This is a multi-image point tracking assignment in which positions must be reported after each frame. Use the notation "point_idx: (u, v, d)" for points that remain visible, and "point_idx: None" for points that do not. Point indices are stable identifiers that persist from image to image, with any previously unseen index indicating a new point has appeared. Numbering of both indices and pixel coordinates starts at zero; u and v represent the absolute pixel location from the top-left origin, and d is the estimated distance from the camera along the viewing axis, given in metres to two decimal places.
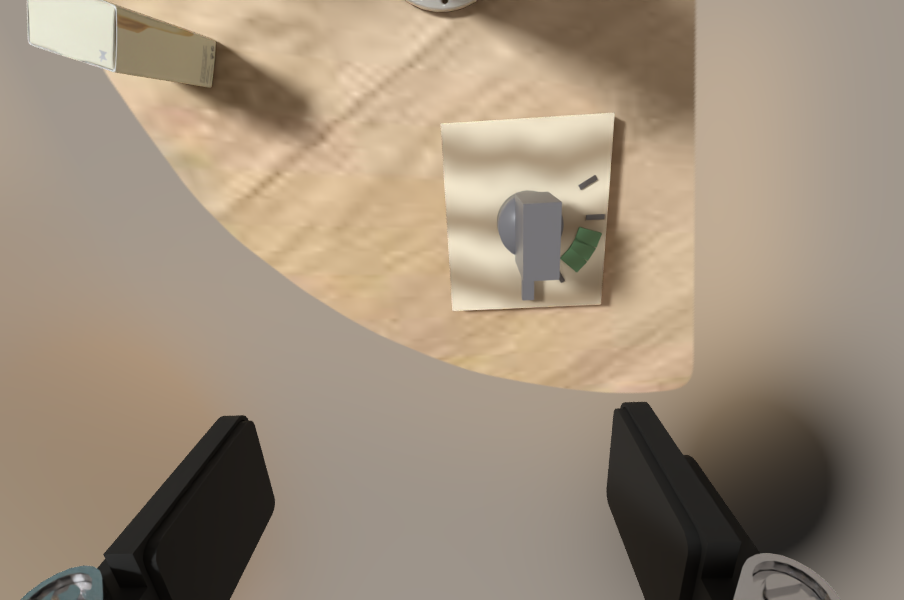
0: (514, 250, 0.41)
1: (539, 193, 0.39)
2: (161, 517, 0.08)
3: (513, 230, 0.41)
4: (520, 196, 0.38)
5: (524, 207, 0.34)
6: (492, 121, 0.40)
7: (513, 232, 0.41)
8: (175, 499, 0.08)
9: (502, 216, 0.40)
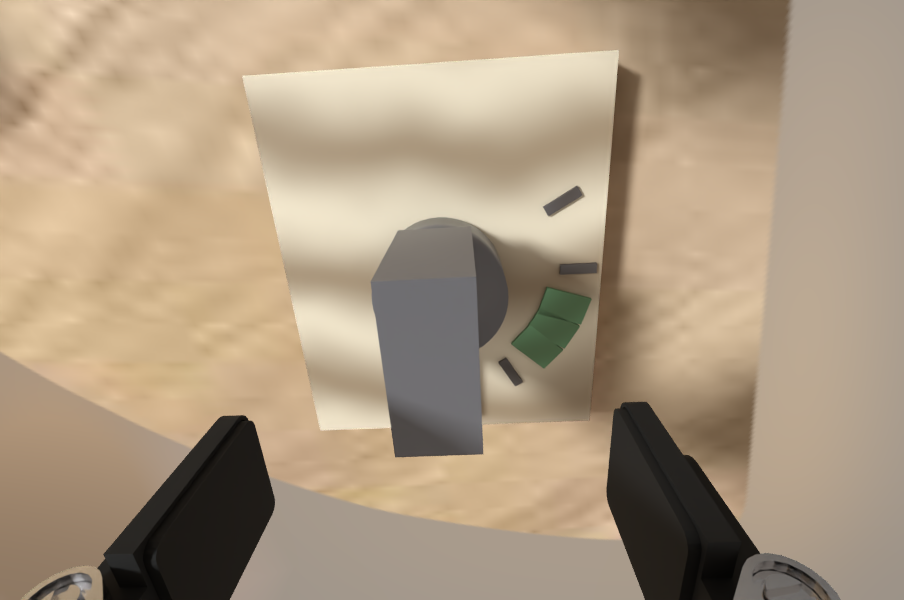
0: None
1: (448, 232, 0.17)
2: (161, 517, 0.08)
3: None
4: (398, 243, 0.16)
5: (375, 290, 0.12)
6: (353, 70, 0.19)
7: None
8: (175, 499, 0.08)
9: None
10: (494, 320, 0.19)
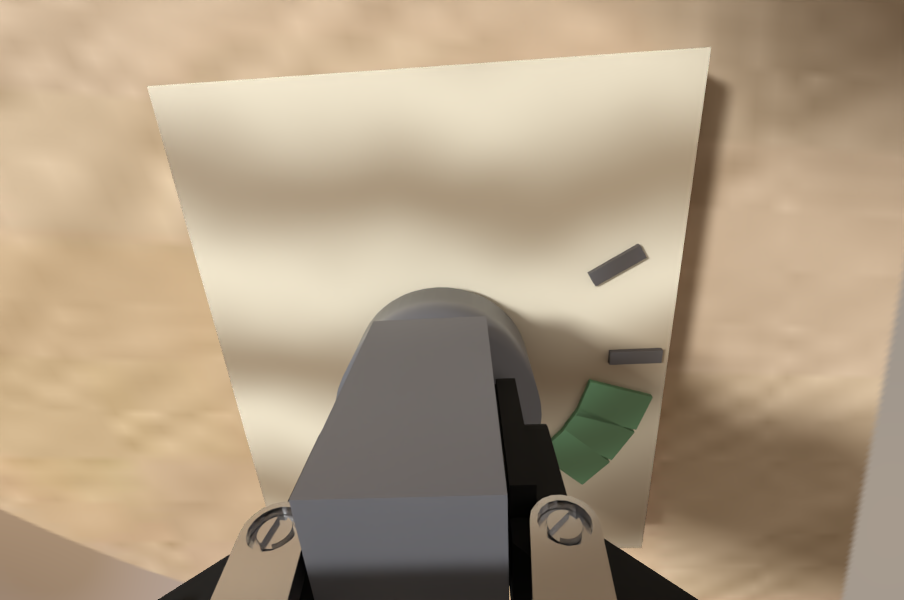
0: None
1: (450, 332, 0.11)
2: None
3: None
4: (367, 358, 0.10)
5: (299, 515, 0.06)
6: (310, 78, 0.12)
7: None
8: None
9: (342, 387, 0.12)
10: None
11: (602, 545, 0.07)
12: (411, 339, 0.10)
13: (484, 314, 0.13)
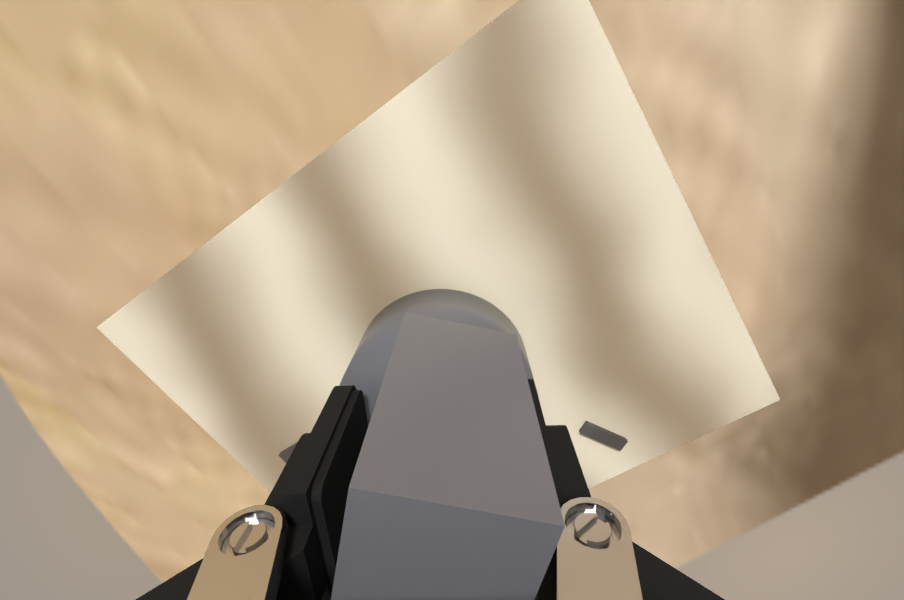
0: None
1: (483, 342, 0.11)
2: (317, 466, 0.09)
3: None
4: (405, 350, 0.10)
5: (353, 504, 0.06)
6: (646, 129, 0.13)
7: None
8: (323, 452, 0.09)
9: (352, 369, 0.12)
10: None
11: (631, 551, 0.07)
12: (446, 341, 0.10)
13: (505, 330, 0.13)
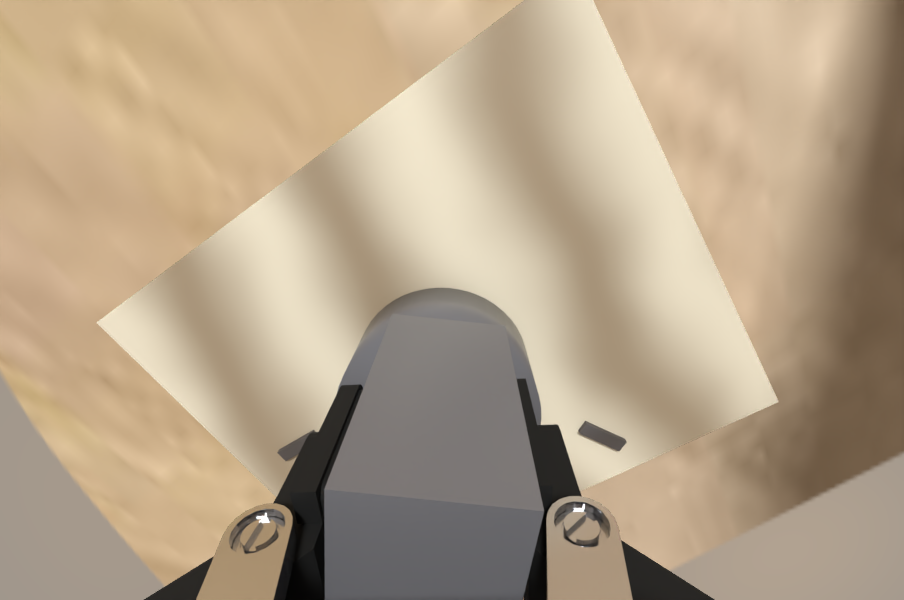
0: None
1: (471, 336, 0.11)
2: (326, 464, 0.09)
3: None
4: (390, 351, 0.10)
5: (330, 505, 0.06)
6: (649, 130, 0.13)
7: None
8: (331, 451, 0.09)
9: (347, 375, 0.12)
10: None
11: (619, 548, 0.07)
12: (432, 338, 0.10)
13: (497, 322, 0.13)
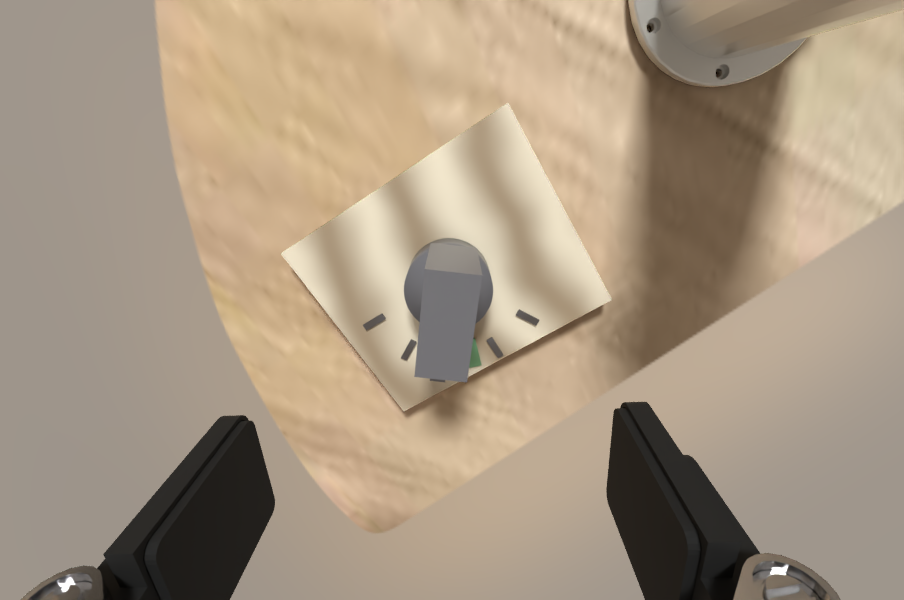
0: None
1: (463, 249, 0.27)
2: (161, 517, 0.08)
3: None
4: (433, 250, 0.26)
5: (426, 274, 0.22)
6: (541, 169, 0.30)
7: None
8: (175, 499, 0.08)
9: (410, 270, 0.29)
10: (481, 310, 0.30)
11: None
12: (448, 249, 0.27)
13: None
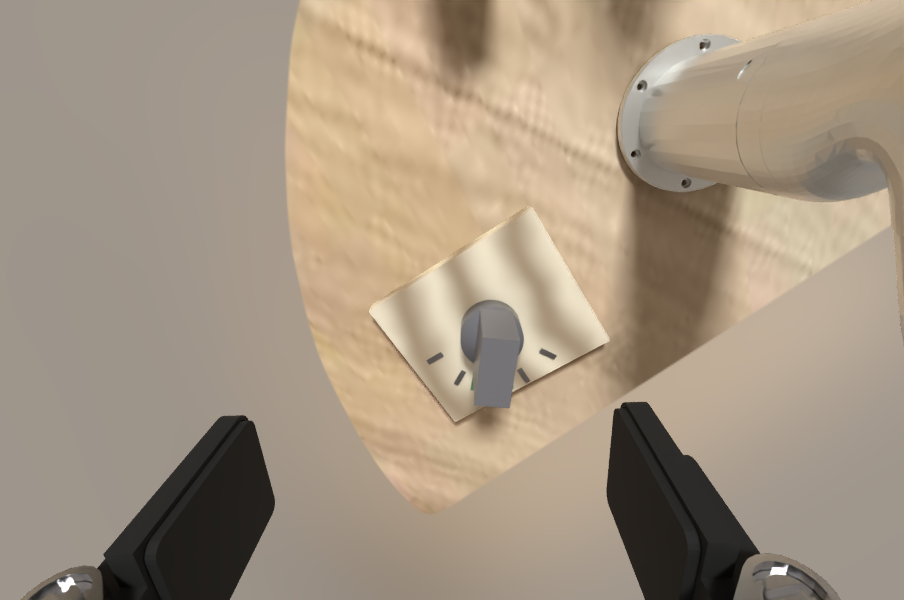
0: (473, 359, 0.42)
1: (503, 314, 0.39)
2: (160, 517, 0.08)
3: (474, 341, 0.41)
4: (483, 317, 0.38)
5: (483, 340, 0.35)
6: (557, 251, 0.41)
7: (474, 343, 0.41)
8: (175, 499, 0.08)
9: (465, 327, 0.41)
10: None
11: None
12: (493, 314, 0.39)
13: (510, 310, 0.42)
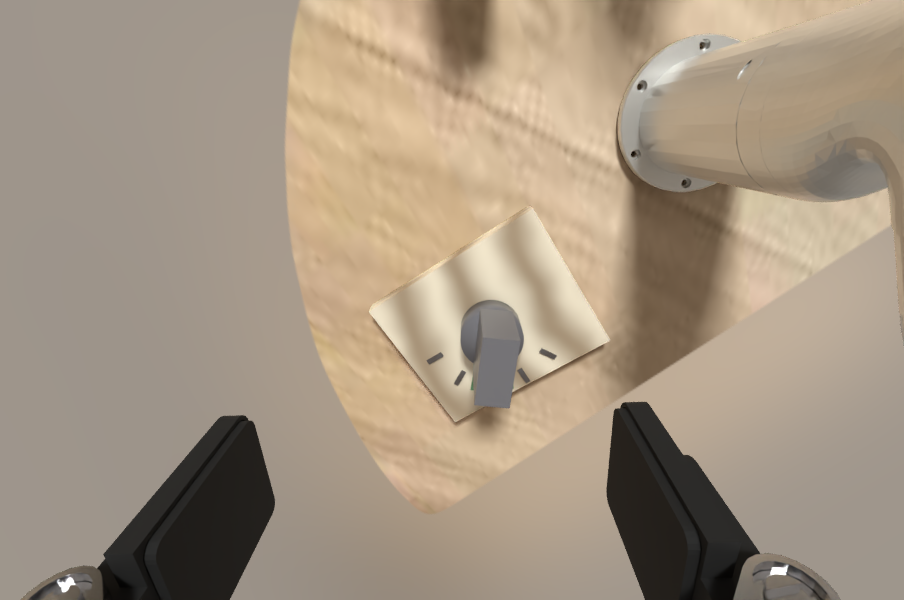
0: (473, 359, 0.42)
1: (503, 314, 0.39)
2: (161, 517, 0.08)
3: (474, 341, 0.41)
4: (484, 317, 0.38)
5: (483, 340, 0.35)
6: (557, 252, 0.41)
7: (474, 343, 0.41)
8: (175, 499, 0.08)
9: (465, 327, 0.41)
10: None
11: None
12: (493, 314, 0.39)
13: (510, 311, 0.42)
